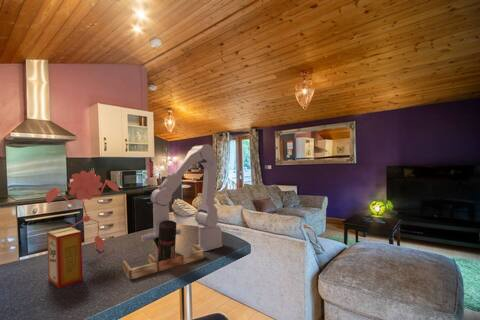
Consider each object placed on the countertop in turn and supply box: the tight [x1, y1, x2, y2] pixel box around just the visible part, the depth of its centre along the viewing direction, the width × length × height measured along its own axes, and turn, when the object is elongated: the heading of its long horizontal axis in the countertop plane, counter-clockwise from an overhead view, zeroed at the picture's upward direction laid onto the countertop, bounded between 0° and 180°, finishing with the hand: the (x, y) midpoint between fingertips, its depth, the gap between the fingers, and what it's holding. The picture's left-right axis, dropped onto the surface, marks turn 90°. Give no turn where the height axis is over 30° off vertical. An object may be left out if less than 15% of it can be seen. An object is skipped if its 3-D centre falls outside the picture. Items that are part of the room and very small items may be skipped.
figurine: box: [45, 169, 120, 263], centre depth 101 cm, size 15×26×35 cm, turn 136°
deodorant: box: [157, 219, 178, 262], centre depth 89 cm, size 6×6×15 cm
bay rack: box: [122, 243, 206, 281], centre depth 91 cm, size 27×10×3 cm, turn 126°
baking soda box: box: [46, 227, 84, 289], centre depth 80 cm, size 10×6×16 cm
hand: (162, 256), depth 94 cm, fingers closed, pressing on deodorant
